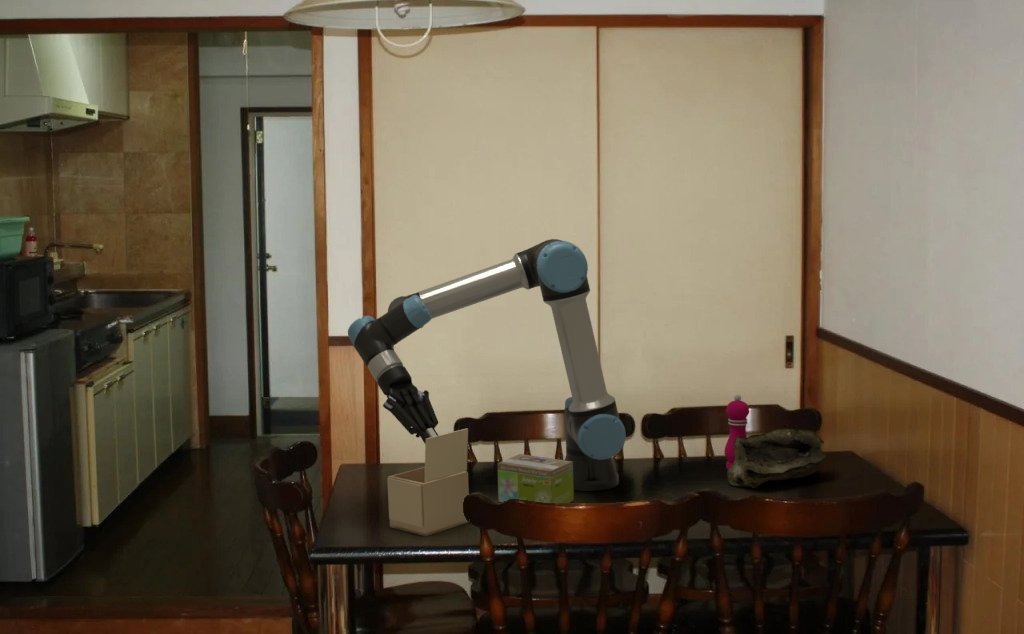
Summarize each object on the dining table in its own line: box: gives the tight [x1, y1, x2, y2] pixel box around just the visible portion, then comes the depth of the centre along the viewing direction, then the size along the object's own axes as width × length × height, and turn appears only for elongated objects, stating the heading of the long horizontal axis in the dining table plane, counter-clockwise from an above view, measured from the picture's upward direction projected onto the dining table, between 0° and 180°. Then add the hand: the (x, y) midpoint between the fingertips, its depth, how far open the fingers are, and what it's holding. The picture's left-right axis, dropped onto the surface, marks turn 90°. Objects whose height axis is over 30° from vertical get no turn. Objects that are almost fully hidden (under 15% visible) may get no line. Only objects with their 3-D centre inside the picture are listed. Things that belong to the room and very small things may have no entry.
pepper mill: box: [723, 394, 750, 471], centre depth 323 cm, size 7×7×20 cm
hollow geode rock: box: [726, 426, 827, 489], centre depth 310 cm, size 28×13×15 cm
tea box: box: [497, 453, 575, 504], centre depth 279 cm, size 15×10×15 cm
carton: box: [386, 465, 470, 537], centre depth 281 cm, size 15×13×12 cm
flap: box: [424, 428, 469, 482], centre depth 275 cm, size 13×1×10 cm, turn 137°
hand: (441, 454), depth 275 cm, fingers closed
